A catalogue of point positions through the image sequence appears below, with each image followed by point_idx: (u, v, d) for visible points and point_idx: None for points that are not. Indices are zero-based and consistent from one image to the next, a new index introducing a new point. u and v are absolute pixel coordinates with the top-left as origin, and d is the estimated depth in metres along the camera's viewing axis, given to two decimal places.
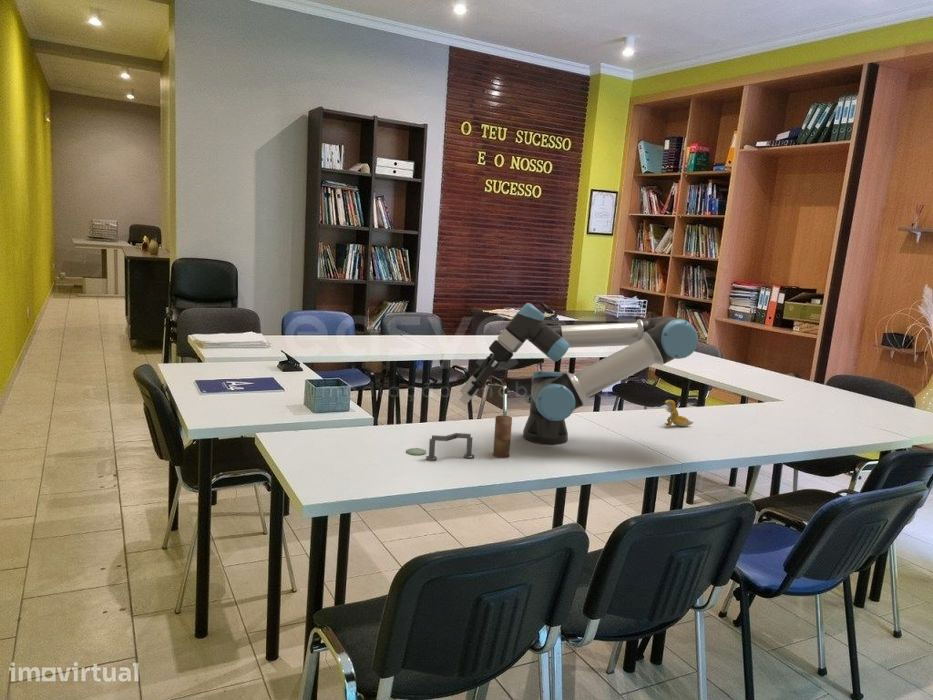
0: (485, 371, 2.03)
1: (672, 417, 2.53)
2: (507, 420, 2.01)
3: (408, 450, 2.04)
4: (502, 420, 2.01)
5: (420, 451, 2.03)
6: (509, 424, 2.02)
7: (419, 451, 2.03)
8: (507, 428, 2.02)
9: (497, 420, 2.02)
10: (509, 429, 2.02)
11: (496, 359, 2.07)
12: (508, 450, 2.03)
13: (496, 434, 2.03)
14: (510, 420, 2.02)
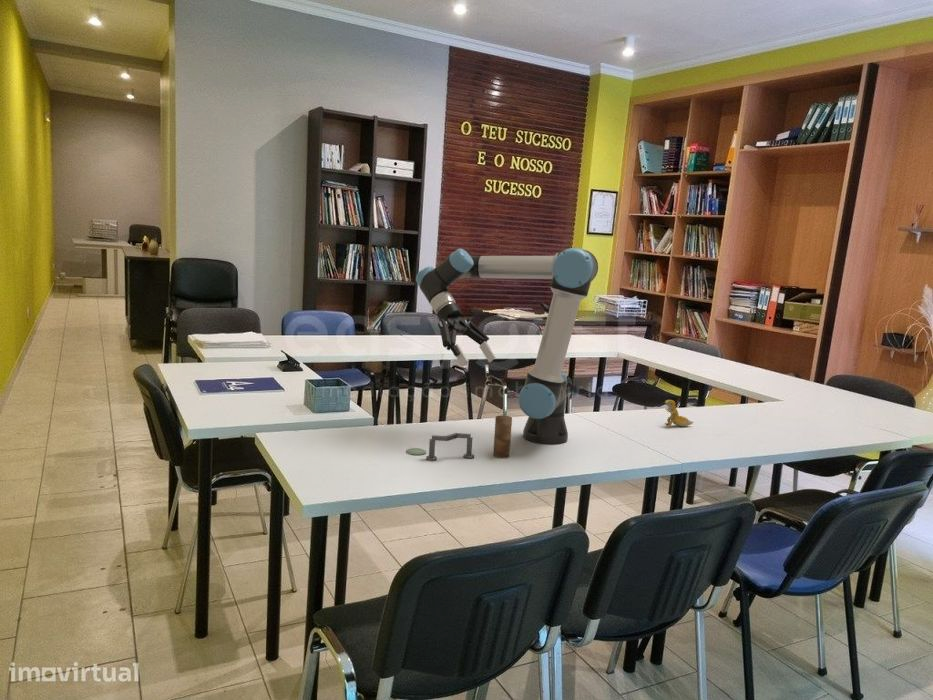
0: (441, 334, 2.08)
1: (672, 417, 2.53)
2: (507, 420, 2.01)
3: (408, 450, 2.04)
4: (502, 420, 2.01)
5: (420, 451, 2.03)
6: (509, 424, 2.02)
7: (419, 451, 2.03)
8: (507, 428, 2.02)
9: (497, 420, 2.02)
10: (509, 429, 2.02)
11: (445, 320, 2.12)
12: (508, 450, 2.03)
13: (496, 434, 2.03)
14: (510, 420, 2.02)
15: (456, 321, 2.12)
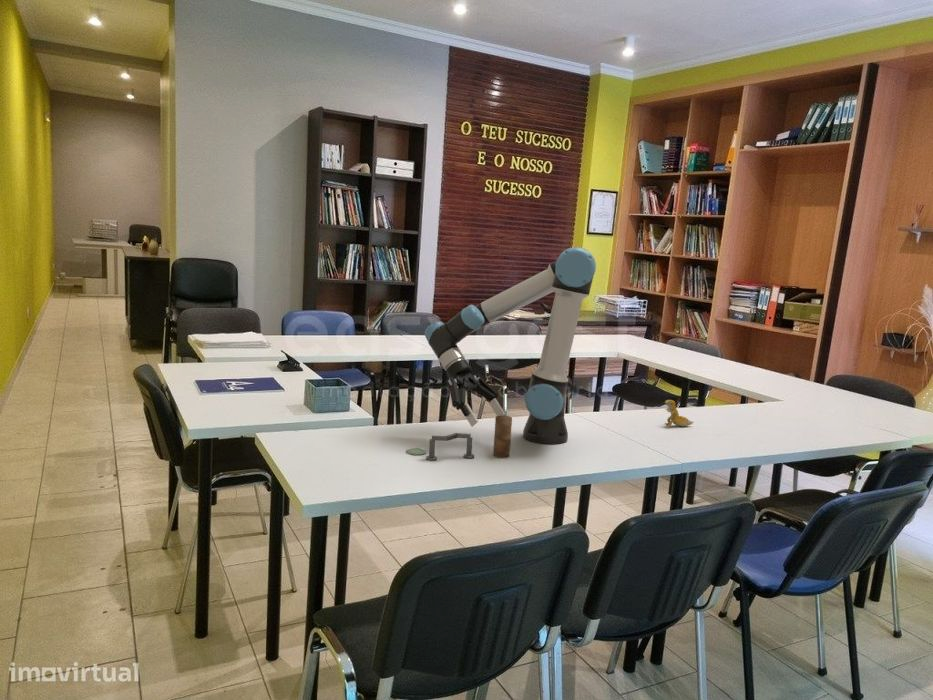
0: (451, 393, 2.05)
1: (672, 417, 2.53)
2: (507, 420, 2.01)
3: (408, 450, 2.04)
4: (502, 420, 2.01)
5: (420, 451, 2.03)
6: (509, 424, 2.02)
7: (419, 451, 2.03)
8: (507, 428, 2.02)
9: (497, 420, 2.02)
10: (509, 429, 2.02)
11: (454, 378, 2.09)
12: (508, 450, 2.03)
13: (496, 434, 2.03)
14: (510, 420, 2.02)
15: (465, 379, 2.09)
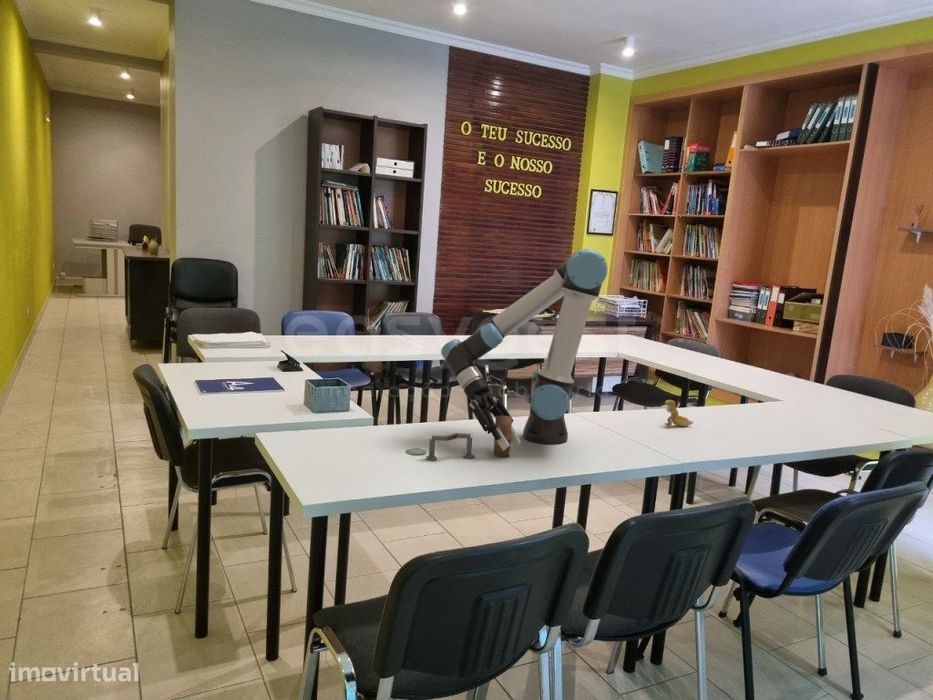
0: (477, 417, 2.02)
1: (672, 417, 2.53)
2: (507, 420, 2.01)
3: (408, 450, 2.04)
4: (502, 420, 2.01)
5: (420, 451, 2.03)
6: (509, 424, 2.02)
7: (419, 451, 2.03)
8: (507, 428, 2.02)
9: (497, 420, 2.02)
10: (509, 429, 2.02)
11: (473, 397, 2.06)
12: (508, 450, 2.03)
13: None
14: (510, 420, 2.02)
15: (484, 398, 2.06)
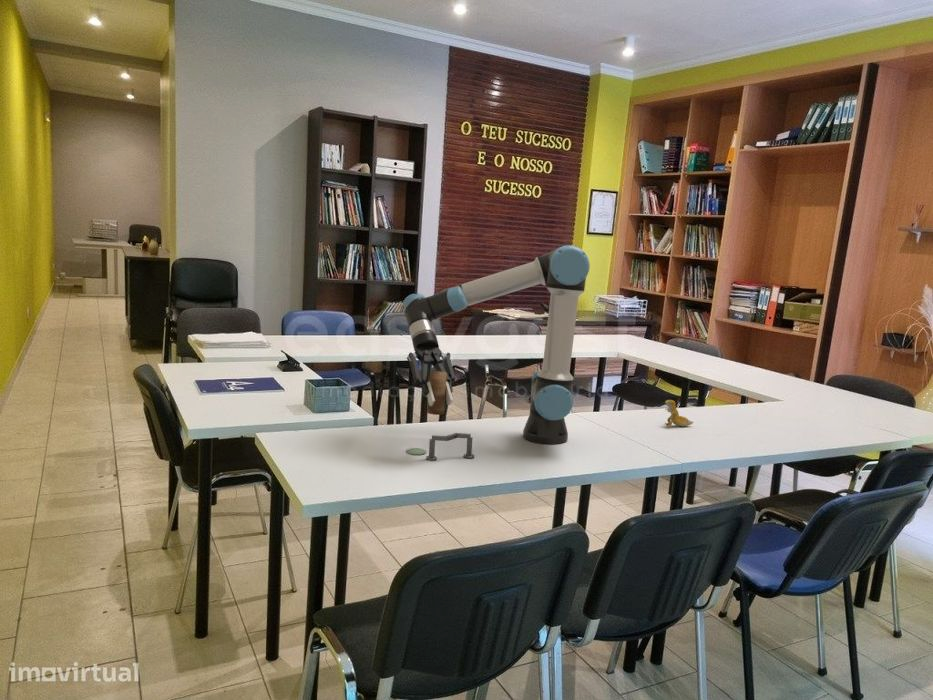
0: (411, 369, 1.97)
1: (672, 417, 2.53)
2: (437, 375, 1.92)
3: (408, 450, 2.04)
4: (432, 374, 1.93)
5: (420, 451, 2.03)
6: (440, 379, 1.93)
7: (419, 451, 2.03)
8: (437, 383, 1.93)
9: (429, 374, 1.94)
10: (440, 385, 1.93)
11: (415, 350, 2.01)
12: (439, 407, 1.94)
13: None
14: (441, 375, 1.93)
15: (426, 352, 1.99)
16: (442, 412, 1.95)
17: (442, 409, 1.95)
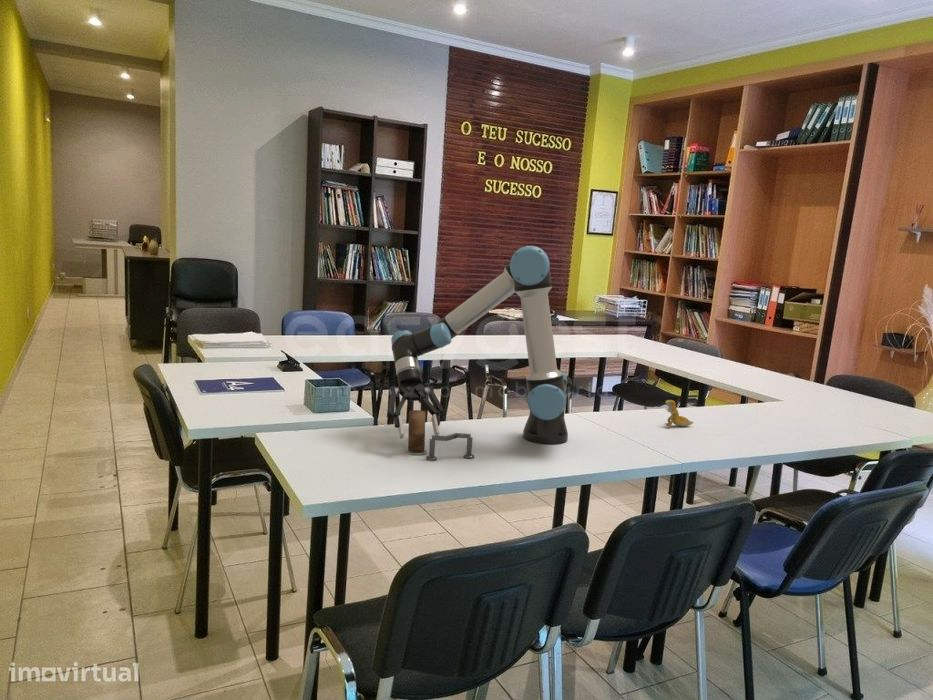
0: (389, 402, 2.05)
1: (672, 417, 2.53)
2: (415, 414, 2.00)
3: None
4: (411, 414, 2.00)
5: None
6: (418, 419, 2.00)
7: None
8: (416, 423, 2.00)
9: None
10: (418, 424, 2.00)
11: (399, 386, 2.08)
12: (419, 445, 2.01)
13: None
14: (419, 415, 2.00)
15: (408, 388, 2.07)
16: (422, 450, 2.02)
17: (422, 447, 2.02)
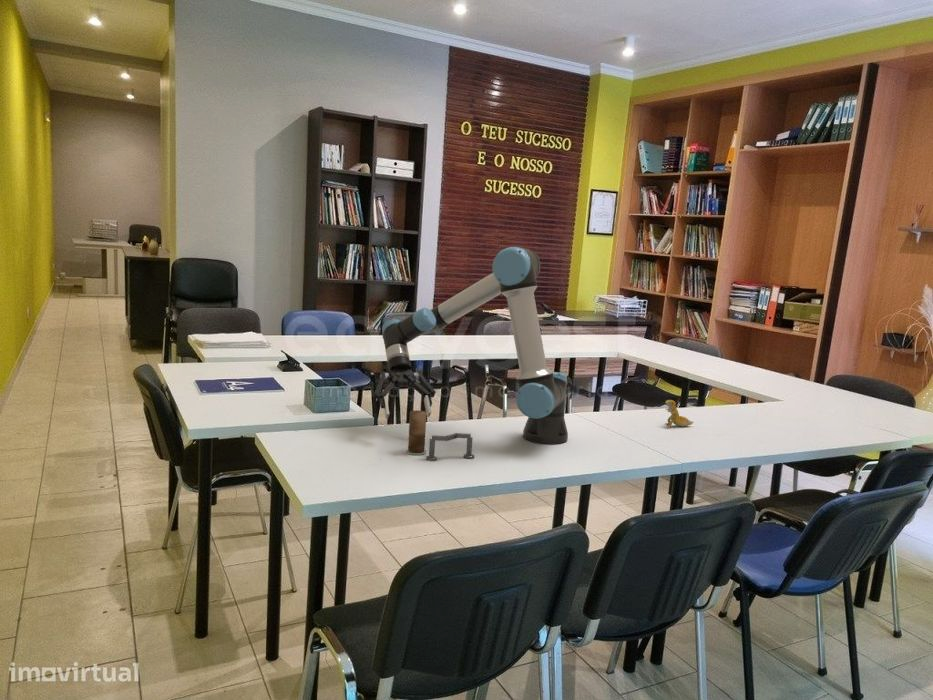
0: None
1: (672, 417, 2.53)
2: (416, 415, 2.00)
3: None
4: (412, 414, 2.00)
5: None
6: (419, 419, 2.00)
7: None
8: (416, 423, 2.00)
9: None
10: (419, 424, 2.00)
11: None
12: (419, 446, 2.01)
13: (409, 428, 2.02)
14: (420, 415, 2.00)
15: (397, 374, 2.18)
16: (422, 451, 2.02)
17: (422, 448, 2.02)
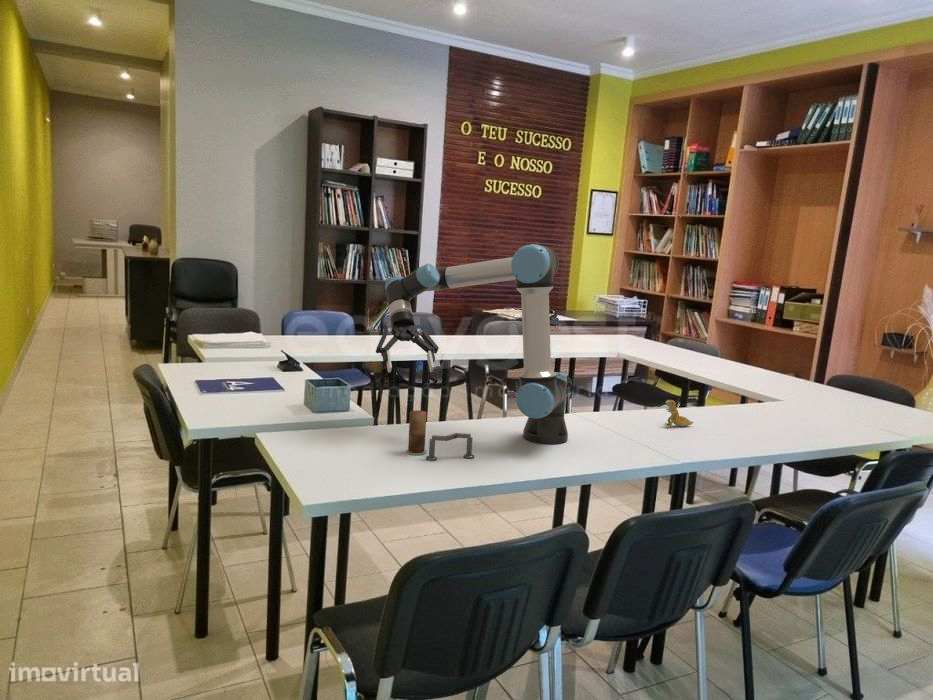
0: None
1: (673, 417, 2.53)
2: (416, 415, 2.00)
3: None
4: (412, 414, 2.00)
5: None
6: (419, 419, 2.00)
7: None
8: (416, 423, 2.00)
9: None
10: (419, 424, 2.00)
11: (392, 327, 2.17)
12: (419, 446, 2.01)
13: (409, 428, 2.02)
14: (420, 415, 2.00)
15: (400, 329, 2.15)
16: (422, 451, 2.02)
17: (422, 448, 2.02)
